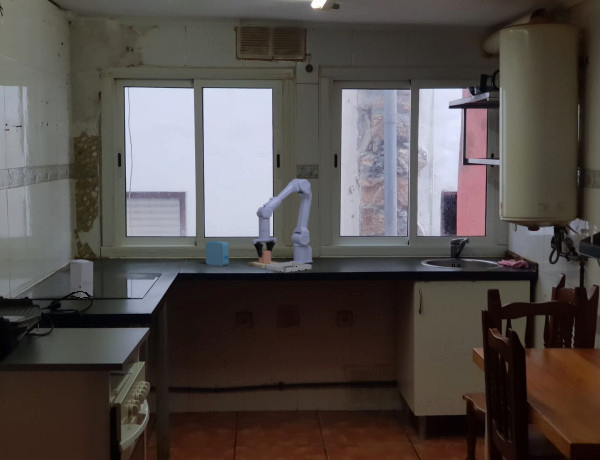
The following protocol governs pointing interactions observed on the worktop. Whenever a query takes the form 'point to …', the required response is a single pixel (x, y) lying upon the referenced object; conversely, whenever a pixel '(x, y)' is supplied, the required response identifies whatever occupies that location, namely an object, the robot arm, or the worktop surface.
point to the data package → (217, 253)
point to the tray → (279, 267)
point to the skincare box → (81, 277)
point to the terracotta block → (265, 257)
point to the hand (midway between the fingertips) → (264, 256)
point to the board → (260, 264)
